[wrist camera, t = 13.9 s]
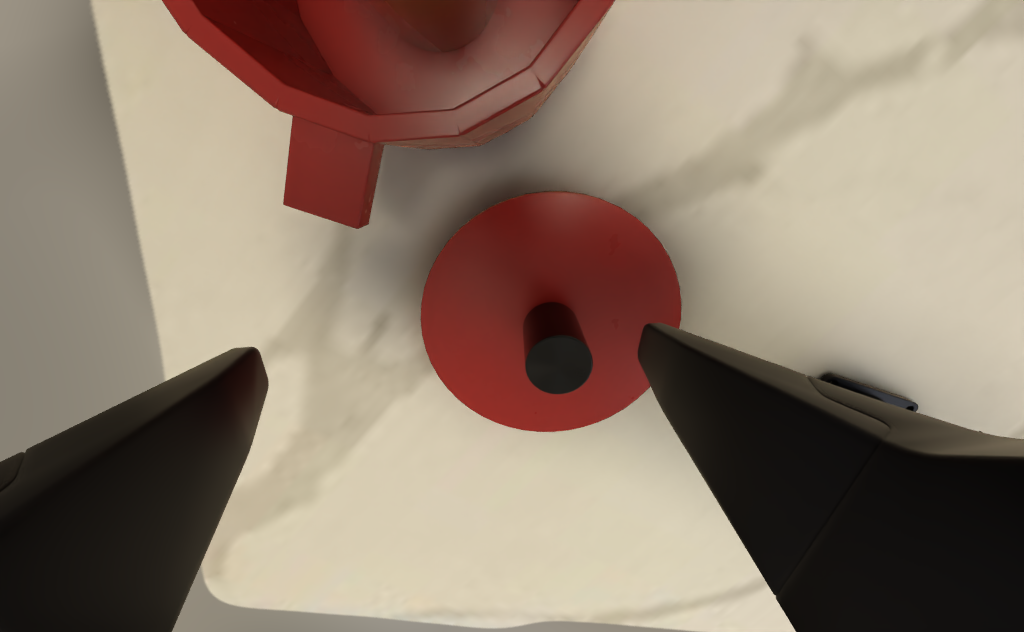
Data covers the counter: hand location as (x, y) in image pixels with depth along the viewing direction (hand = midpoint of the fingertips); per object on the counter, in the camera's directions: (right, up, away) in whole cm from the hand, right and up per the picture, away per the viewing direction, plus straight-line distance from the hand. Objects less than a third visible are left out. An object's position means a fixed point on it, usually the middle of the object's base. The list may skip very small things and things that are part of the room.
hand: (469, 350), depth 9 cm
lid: (+3, 0, +12) cm, 12 cm away
